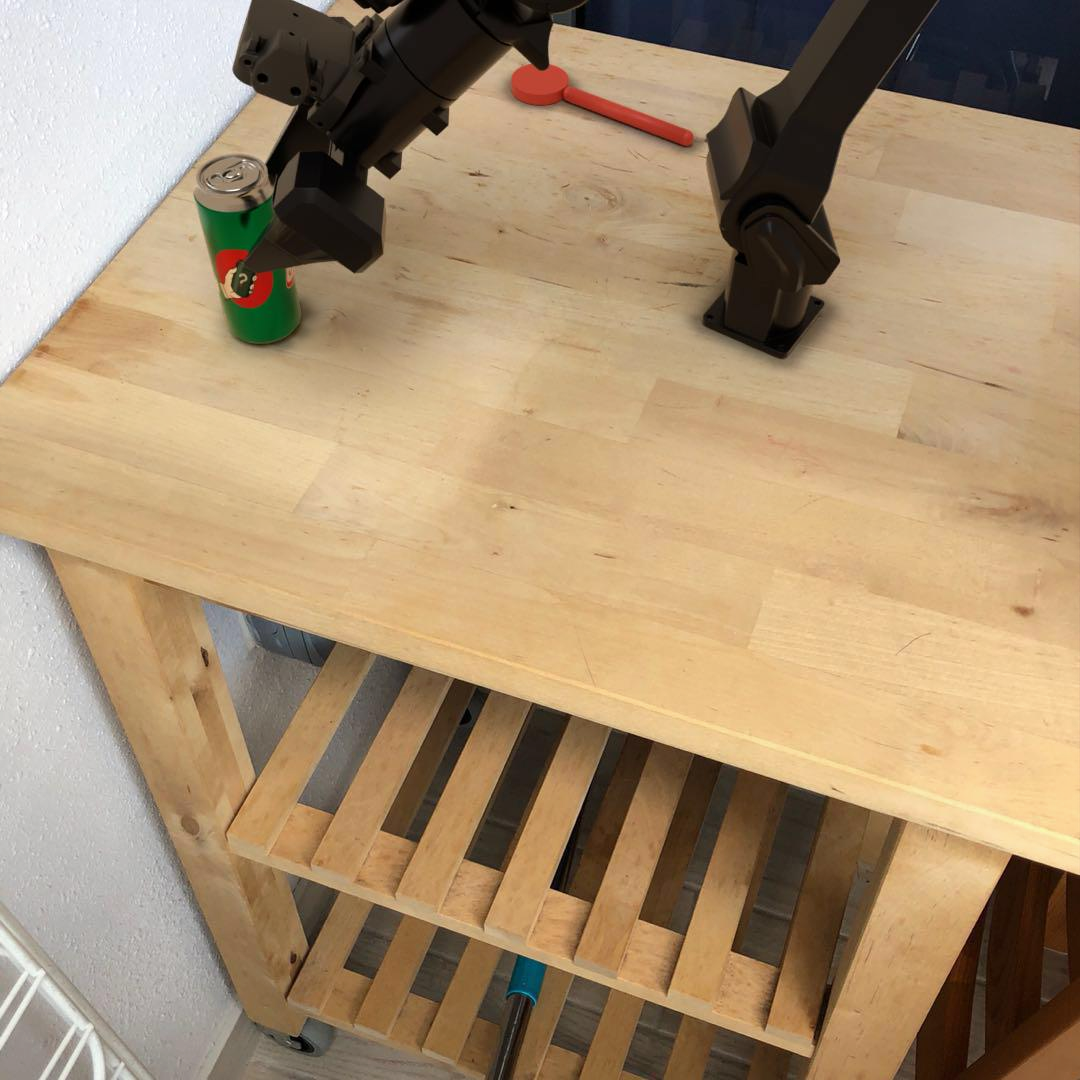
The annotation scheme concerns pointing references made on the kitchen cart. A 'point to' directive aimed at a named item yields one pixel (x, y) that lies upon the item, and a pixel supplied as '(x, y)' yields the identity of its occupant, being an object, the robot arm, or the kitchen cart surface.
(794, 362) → the kitchen cart surface
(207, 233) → the soda can
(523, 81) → the spoon
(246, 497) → the kitchen cart surface
